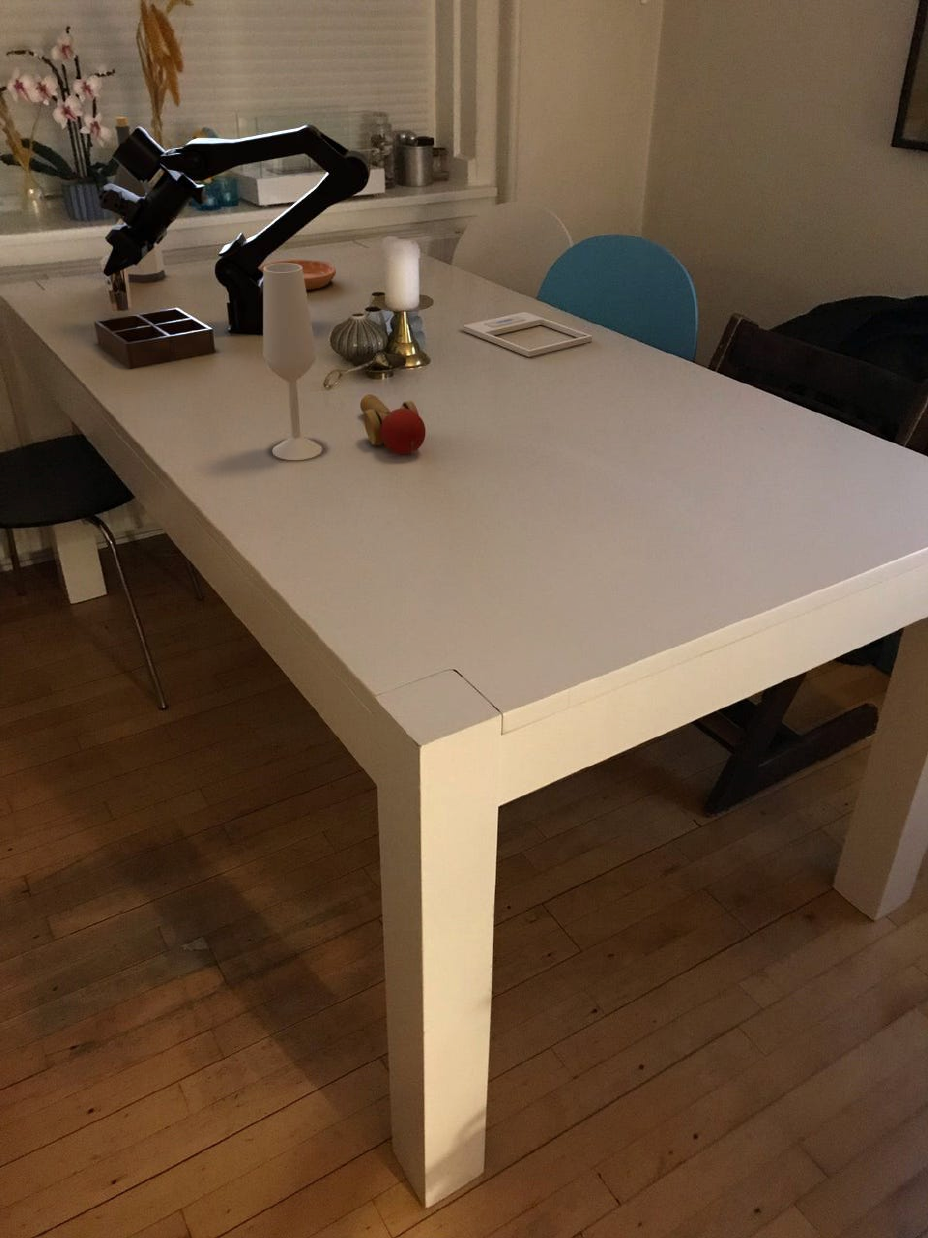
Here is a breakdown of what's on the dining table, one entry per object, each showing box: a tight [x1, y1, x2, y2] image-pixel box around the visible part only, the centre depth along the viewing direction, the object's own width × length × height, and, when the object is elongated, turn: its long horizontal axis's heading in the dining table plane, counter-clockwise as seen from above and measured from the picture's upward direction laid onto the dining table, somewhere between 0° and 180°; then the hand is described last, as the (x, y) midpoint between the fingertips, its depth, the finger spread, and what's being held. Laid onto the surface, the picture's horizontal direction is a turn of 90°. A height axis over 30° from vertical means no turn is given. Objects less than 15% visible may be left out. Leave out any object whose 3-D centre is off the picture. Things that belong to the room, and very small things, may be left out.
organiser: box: [94, 307, 216, 369], centre depth 174 cm, size 15×15×4 cm
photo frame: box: [462, 311, 593, 358], centre depth 183 cm, size 15×1×18 cm
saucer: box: [259, 259, 337, 291], centre depth 210 cm, size 16×16×3 cm
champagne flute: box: [262, 263, 323, 461], centre depth 133 cm, size 7×7×24 cm
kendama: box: [359, 393, 427, 455], centre depth 143 cm, size 8×6×18 cm
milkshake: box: [99, 255, 132, 313], centre depth 180 cm, size 4×5×10 cm
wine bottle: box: [113, 116, 166, 284], centre depth 206 cm, size 8×8×30 cm
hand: (109, 270), depth 179 cm, fingers closed on milkshake, 4 cm apart
